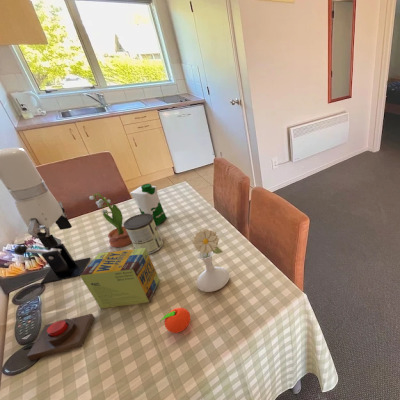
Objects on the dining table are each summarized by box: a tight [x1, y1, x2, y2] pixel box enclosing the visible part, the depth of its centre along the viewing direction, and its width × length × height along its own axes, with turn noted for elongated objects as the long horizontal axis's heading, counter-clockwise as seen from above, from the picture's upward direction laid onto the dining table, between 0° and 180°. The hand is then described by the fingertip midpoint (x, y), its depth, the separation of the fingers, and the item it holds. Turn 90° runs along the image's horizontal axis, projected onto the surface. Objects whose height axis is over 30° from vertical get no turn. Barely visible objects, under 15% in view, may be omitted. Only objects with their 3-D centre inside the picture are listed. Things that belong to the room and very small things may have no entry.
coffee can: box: [122, 213, 164, 255], centre depth 111 cm, size 10×10×14 cm
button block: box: [26, 313, 96, 361], centre depth 78 cm, size 12×10×4 cm
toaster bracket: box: [40, 243, 91, 285], centre depth 99 cm, size 12×10×12 cm
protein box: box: [79, 248, 161, 309], centre depth 89 cm, size 10×15×16 cm
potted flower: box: [89, 191, 133, 248], centre depth 112 cm, size 12×10×25 cm
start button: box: [47, 320, 68, 337], centre depth 77 cm, size 4×4×2 cm
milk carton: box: [129, 183, 168, 227], centre depth 127 cm, size 9×9×20 cm
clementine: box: [159, 307, 191, 334], centre depth 80 cm, size 8×7×7 cm
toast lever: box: [13, 244, 62, 255], centre depth 95 cm, size 12×3×3 cm, turn 110°
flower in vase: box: [192, 228, 231, 293], centre depth 91 cm, size 13×11×25 cm
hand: (59, 236), depth 86 cm, fingers open, 9 cm apart
